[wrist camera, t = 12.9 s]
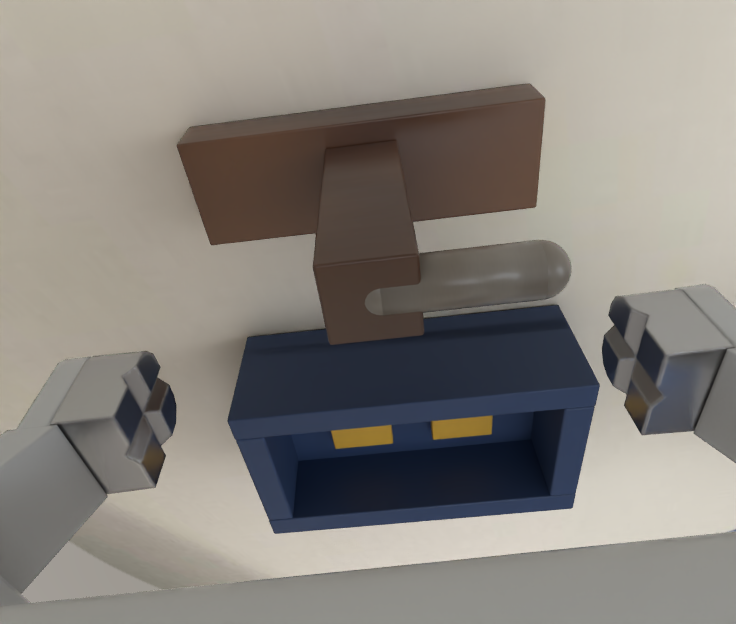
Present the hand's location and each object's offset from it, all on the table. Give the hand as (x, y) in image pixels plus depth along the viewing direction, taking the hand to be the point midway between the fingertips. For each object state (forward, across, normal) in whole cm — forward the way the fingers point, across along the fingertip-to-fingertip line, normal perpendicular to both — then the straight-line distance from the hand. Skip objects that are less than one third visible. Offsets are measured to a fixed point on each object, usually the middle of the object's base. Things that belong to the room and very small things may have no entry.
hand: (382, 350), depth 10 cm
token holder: (+9, -1, +10) cm, 13 cm away
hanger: (+9, 0, 0) cm, 9 cm away
